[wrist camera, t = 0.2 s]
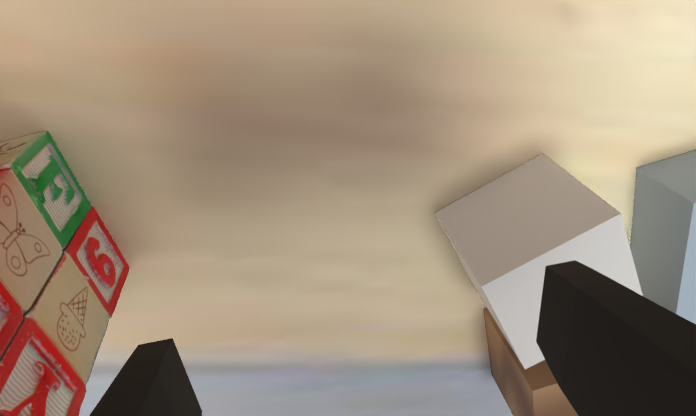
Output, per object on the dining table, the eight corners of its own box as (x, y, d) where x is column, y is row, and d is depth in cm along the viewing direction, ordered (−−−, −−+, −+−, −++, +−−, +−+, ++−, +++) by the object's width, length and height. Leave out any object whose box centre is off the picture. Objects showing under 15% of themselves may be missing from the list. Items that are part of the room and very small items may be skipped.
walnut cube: (578, 346, 26) (641, 427, 22) (491, 373, 26) (536, 459, 22) (579, 278, 24) (650, 354, 19) (482, 307, 24) (532, 390, 19)
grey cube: (571, 236, 22) (646, 309, 18) (474, 287, 23) (524, 369, 19) (541, 152, 20) (620, 213, 15) (433, 212, 20) (481, 286, 16)
